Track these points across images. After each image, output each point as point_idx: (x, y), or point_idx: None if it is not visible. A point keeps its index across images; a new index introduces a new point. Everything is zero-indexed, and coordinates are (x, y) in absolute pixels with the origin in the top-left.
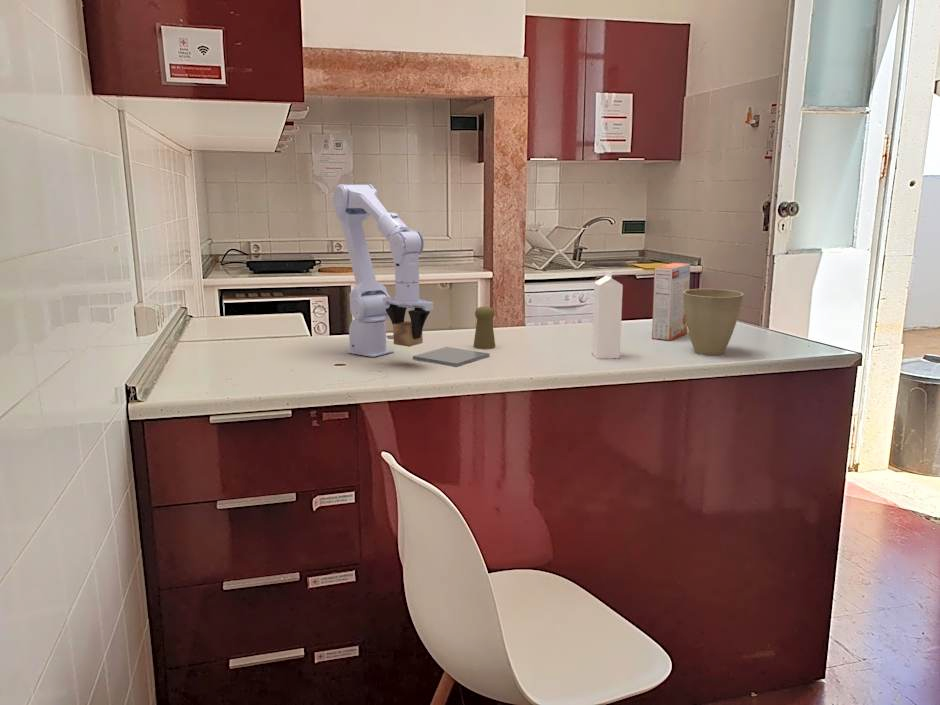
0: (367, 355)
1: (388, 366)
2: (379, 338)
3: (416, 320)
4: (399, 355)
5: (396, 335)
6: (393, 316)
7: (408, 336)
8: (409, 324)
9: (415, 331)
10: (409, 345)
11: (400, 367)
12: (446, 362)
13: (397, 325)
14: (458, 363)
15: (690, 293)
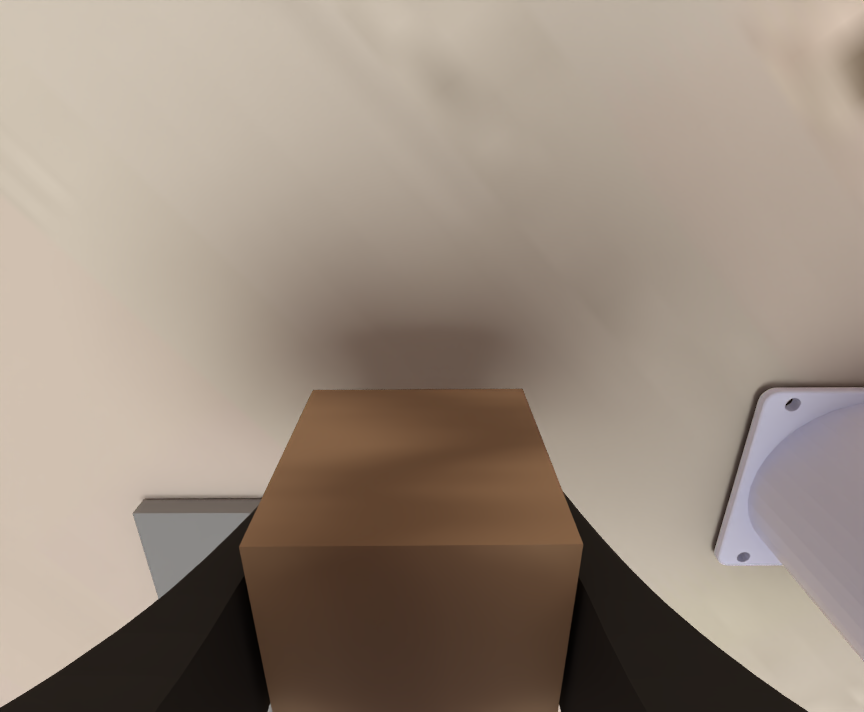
0: (822, 389)
1: (502, 260)
2: (842, 545)
3: (51, 680)
4: (635, 523)
5: (493, 442)
6: (643, 689)
7: (293, 448)
8: (341, 634)
9: (227, 546)
10: (312, 399)
11: (407, 289)
12: (214, 509)
13: (485, 535)
14: (140, 527)
15: None
